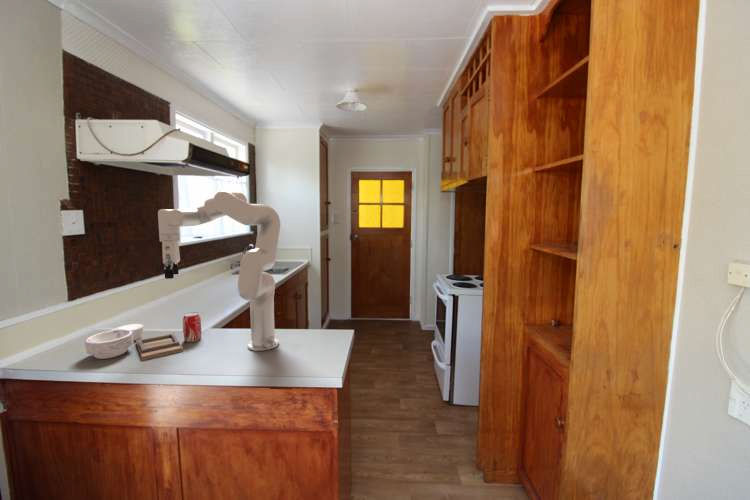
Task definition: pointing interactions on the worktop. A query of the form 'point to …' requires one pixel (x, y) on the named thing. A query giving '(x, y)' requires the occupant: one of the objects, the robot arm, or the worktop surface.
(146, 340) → the steel frame
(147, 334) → the worktop surface
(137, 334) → the ramekin
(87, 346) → the paper bowls
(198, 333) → the soda can
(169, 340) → the tan board
